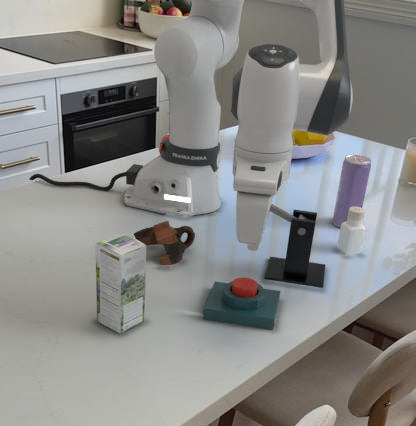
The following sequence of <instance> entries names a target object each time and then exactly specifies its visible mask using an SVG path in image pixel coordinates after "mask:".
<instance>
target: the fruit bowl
mask: <svg viewBox="0 0 416 426" xmlns="http://www.w3.org/2000/svg"><path fill="white" fill-rule="evenodd" d="M292 139H293V151H292V158H291V160H294V159H295V160H296V159H309V158H311V157H316V156H319V155H321V154H325V153H327V152H328V151H329V149H330V148H331V146H332V145H333V144H334V142H335V141H336V140H337V136H336V135H335V134H334V132H333V133H331V134H329V135H321V134H316V133H310V132H307V131H301V130H292Z"/></svg>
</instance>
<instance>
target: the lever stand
mask: <svg viewBox="0 0 416 426" xmlns="http://www.w3.org/2000/svg"><path fill="white" fill-rule="evenodd" d="M300 214H301V215H303V216H304V217H306V218H308V219H310V220H305V219H298V217H299V215H300ZM292 215H293V216H295V217H296V218H292V219H291V222H290V225H289V232H288V233H289V234H288V238H287V239H288V240H287V247H286V252H285V253H286V254H285V258H283V257H276V256H269V260H268V265H267V267H266V271H265V275H264V280H268V281H276V282H282V283H288V284H296V285H301V286H302V285H303V286H309V287H314V288H321V289H323V288H324V282H325V272H326V264H325V263H318V262H313V261H312V262H311V261H310V259H311V253H312V248H313V242H314V236H315V230H316V223H317V217H318V212H316V211H308V210H302V209H301V210H300V209H293V211H292Z"/></svg>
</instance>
